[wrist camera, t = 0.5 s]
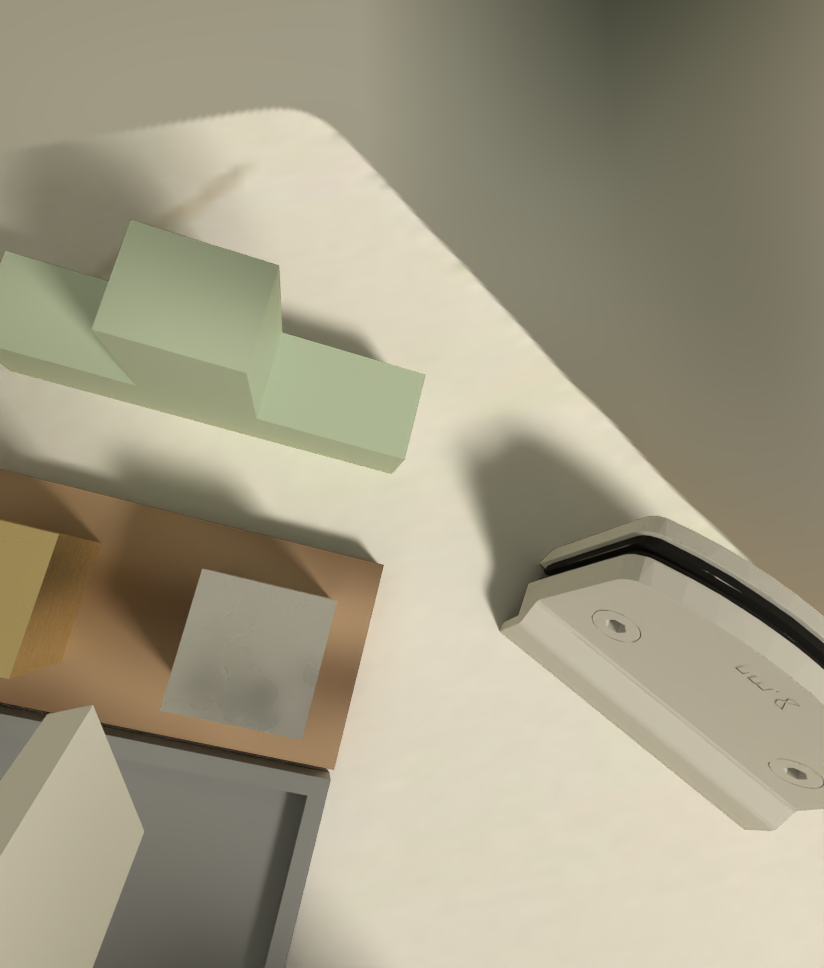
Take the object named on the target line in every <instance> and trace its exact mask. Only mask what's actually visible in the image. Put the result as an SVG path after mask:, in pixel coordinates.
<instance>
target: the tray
mask: <svg viewBox="0 0 824 968" xmlns="http://www.w3.org/2000/svg"><path fill="white" fill-rule="evenodd" d="M45 717H46V715H45V714H40V713H35V712H30V711H25V710H20V709H15V708H10V707H5V706H0V781H1V779H2V778H3V776H4V775H5V773H6V772H7V771H8V769H9V768H10V766H11V765H12V763H13V762H14V761H15V759H16V758H17V756H18V755H19V754H20V752H21V751H22V749H23V748H24V746H25V745H26V744H27V742H28V741H29V739H30V738H31V737H32V735H33V734H34V732H35V731H36V729H37V728H38V727H39V725H40V724H41V722H42V721H43V720H44V718H45ZM102 728H103V731H104V733H105V736H106V738H107V740H108V743H109V745H110V748H111V750H112V753H113V755H114V758H115V760H116V763H117V765H118V768H119V770H120V772H121V775H122V777H123V780H124V782H125V785H126V787H127V790H128V792H129V795H130V797H131V800H132V802H133V804H134V807H135V809H136V812H137V814H138V817H139V819H140V822H141V824H142V827H143V829H144V834H143V836H142V839H141V841H140V844H139V847H138V849H137V852H136V855H135V857H134V860H133V863H132V865H131V868H130V870H129V873H128V876H127V878H126V881H125V884H124V886H123V889H122V892H121V894H120V897H119V899H118V902H117V905H116V907H115V910H114V913H113V915H112V918H111V920H110V923H109V926H108V928H107V931H106V934H105V936H104V939H103V942H102V944H101V947H100V949H99V952H98V955H97V957H96V960H95V963H94V965H93V968H285V965H286V960H287V956H288V952H289V948H290V944H291V940H292V936H293V932H294V928H295V923H296V919H297V915H298V911H299V907H300V903H301V899H302V895H303V891H304V887H305V882H306V878H307V874H308V870H309V866H310V862H311V858H312V854H313V850H314V846H315V841H316V837H317V833H318V829H319V825H320V821H321V817H322V813H323V809H324V805H325V800H326V796H327V792H328V788H329V784H330V774H329V772H327V771H322V770H317V769H312V768H307V767H302V766H297V765H292V764H287V763H282V762H277V761H273V760H268V759H263V758H258V757H253V756H248V755H243V754H238V753H233V752H228V751H223V750H218V749H213V748H208V747H203V746H198V745H193V744H188V743H183V742H178V741H173V740H169V739H164V738H159V737H154V736H149V735H144V734H139V733H134V732H129V731H124V730H119V729H114V728H109V727H104V726H102Z"/></svg>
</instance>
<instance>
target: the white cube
mask: <svg viewBox="0 0 824 968" xmlns="http://www.w3.org/2000/svg"><path fill="white" fill-rule="evenodd" d="M336 604H337V601H336V600H334V599H331V598H328V597H324V596H320V595H315V594H311V593H307V592H303V591H299V590H295V589H290V588H286V587H282V586H278V585H274V584H270V583H265V582H261V581H257V580H253V579H249V578H245V577H240V576H236V575H232V574H228V573H224V572H219V571H214V570H208V569H202V571H201V574H200V578H199V581H198V584H197V588H196V591H195V594H194V598H193V601H192V604H191V608H190V611H189V615H188V618H187V621H186V625H185V628H184V631H183V635H182V638H181V641H180V645H179V648H178V651H177V655H176V658H175V661H174V665H173V668H172V672H171V675H170V678H169V682H168V685H167V688H166V692H165V695H164V698H163V702H162V705H161V708H160V711H165V712H170V713H175V714H179V715H184V716H189V717H194V718H199V719H203V720H208V721H213V722H218V723H223V724H228V725H232V726H237V727H242V728H247V729H252V730H256V731H261V732H266V733H271V734H276V735H281V736H285V737H290V738H295V739H300V740H302V737H303V733H304V729H305V726H306V722H307V718H308V714H309V710H310V706H311V702H312V698H313V694H314V690H315V686H316V682H317V678H318V675H319V671H320V667H321V663H322V659H323V655H324V651H325V647H326V643H327V639H328V635H329V631H330V627H331V624H332V620H333V616H334V612H335V608H336Z"/></svg>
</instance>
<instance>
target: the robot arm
mask: <svg viewBox="0 0 824 968" xmlns="http://www.w3.org/2000/svg"><path fill="white" fill-rule="evenodd" d="M143 834H144V829H143V827H142V824H141V822H140V819H139V817H138V814H137V812H136V809H135V807H134V804H133V802H132V800H131V797H130V795H129V792H128V790H127V787H126V785H125V782H124V780H123V777H122V775H121V772H120V770H119V768H118V765H117V763H116V760H115V758H114V755H113V753H112V750H111V748H110V745H109V743H108V740H107V738H106V736H105V733H104V731H103V728H102V726H101V723H100V721H99V718H98V716H97V713H96V711H95V708H94V706H93V705H90V706H85V707H80V708H75V709H70V710H65V711H61V712H56V713H51V714H47V715H46V717H45V718H44V720H43V721H42V722H41V724H40V725H39V727H38V728H37V729H36V731H35V732H34V734H33V735H32V737H31V738H30V739H29V741H28V742H27V744H26V745H25V746H24V748H23V749H22V751H21V752H20V754H19V755H18V756H17V758H16V759H15V761H14V762H13V763H12V765H11V766H10V768H9V769H8V771H7V772H6V773H5V775H4V776H3V778H2V779H1V781H0V968H93V965H94V963H95V960H96V957H97V955H98V952H99V949H100V947H101V944H102V942H103V939H104V936H105V934H106V931H107V928H108V926H109V923H110V920H111V918H112V915H113V913H114V910H115V907H116V905H117V902H118V899H119V897H120V894H121V892H122V889H123V886H124V884H125V881H126V878H127V876H128V873H129V870H130V868H131V865H132V863H133V860H134V857H135V855H136V852H137V849H138V847H139V844H140V841H141V839H142V836H143Z"/></svg>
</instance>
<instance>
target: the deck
mask: <svg viewBox="0 0 824 968" xmlns="http://www.w3.org/2000/svg"><path fill="white" fill-rule="evenodd" d="M0 519H3V520H7V521H11V522H15V523H19V524H23V525H28V526H32V527H36V528H40V529H44V530H48V531H53V532H57V533H61V534H65V535H69V536H73V537H78V538H82V539H86V540H90V541H94V542H99V543H101V544H100V547H99V550H98V553H97V556H96V559H95V562H94V565H93V568H92V572H91V575H90V578H89V581H88V584H87V587H86V590H85V593H84V596H83V599H82V602H81V605H80V608H79V611H78V614H77V617H76V620H75V623H74V626H73V629H72V632H71V635H70V638H69V641H68V644H67V647H66V650H65V653H64V656H63V659H62V662H59V663H56V664H53V665H50V666H47V667H44V668H41V669H38V670H35V671H32V672H29V673H26V674H23V675H20V676H17V677H14V678H11V679H6V678H1V677H0V702H2V703H7V704H12V705H17V706H22V707H26V708H31V709H36V710H41V711H46V712H51V713H56V712H61V711H65V710H70V709H75V708H80V707H85V706H90V705H93V706H94V708H95V711H96V713H97V716H98V718H99V721H100V722H101V723H105V724H110V725H115V726H120V727H125V728H130V729H135V730H140V731H145V732H150V733H155V734H160V735H165V736H170V737H175V738H179V739H184V740H189V741H194V742H199V743H204V744H209V745H214V746H219V747H224V748H229V749H234V750H239V751H244V752H249V753H254V754H258V755H263V756H268V757H273V758H278V759H283V760H288V761H293V762H298V763H303V764H308V765H313V766H318V767H323V768H328V769H332V770H334V767H335V763H336V759H337V755H338V751H339V747H340V743H341V738H342V734H343V730H344V726H345V722H346V718H347V714H348V710H349V706H350V702H351V697H352V693H353V689H354V685H355V681H356V677H357V673H358V669H359V665H360V660H361V656H362V652H363V648H364V644H365V640H366V636H367V632H368V628H369V624H370V619H371V615H372V611H373V607H374V603H375V599H376V595H377V591H378V587H379V583H380V578H381V574H382V570H383V566H384V565H382V564H378V563H374V562H370V561H366V560H362V559H358V558H354V557H350V556H346V555H342V554H338V553H334V552H330V551H326V550H322V549H318V548H314V547H310V546H306V545H302V544H298V543H294V542H290V541H286V540H282V539H278V538H274V537H270V536H266V535H262V534H258V533H254V532H250V531H246V530H242V529H238V528H234V527H230V526H226V525H222V524H218V523H214V522H210V521H206V520H202V519H198V518H194V517H190V516H186V515H182V514H178V513H174V512H170V511H166V510H162V509H158V508H154V507H150V506H146V505H142V504H138V503H134V502H130V501H126V500H122V499H118V498H114V497H110V496H106V495H102V494H98V493H94V492H90V491H86V490H82V489H78V488H74V487H70V486H66V485H62V484H58V483H54V482H50V481H46V480H42V479H38V478H34V477H30V476H26V475H22V474H18V473H14V472H10V471H6V470H2V469H0ZM202 569H208V570H214V571H219V572H224V573H228V574H232V575H236V576H240V577H245V578H249V579H253V580H257V581H261V582H265V583H270V584H274V585H278V586H282V587H286V588H290V589H295V590H299V591H303V592H307V593H311V594H315V595H320V596H324V597H328V598H331V599H334V600H336V601H337V604H336V608H335V612H334V616H333V620H332V624H331V627H330V631H329V635H328V639H327V643H326V647H325V651H324V655H323V659H322V663H321V667H320V671H319V675H318V678H317V682H316V686H315V690H314V694H313V698H312V702H311V706H310V710H309V714H308V718H307V722H306V726H305V729H304V733H303V737H302V740H300V739H295V738H290V737H285V736H281V735H276V734H271V733H266V732H261V731H256V730H252V729H247V728H242V727H237V726H232V725H228V724H223V723H218V722H213V721H208V720H203V719H199V718H194V717H189V716H184V715H179V714H175V713H170V712H165V711H160V708H161V705H162V702H163V698H164V695H165V692H166V688H167V685H168V682H169V678H170V675H171V672H172V668H173V665H174V661H175V658H176V655H177V651H178V648H179V645H180V641H181V638H182V635H183V631H184V628H185V625H186V621H187V618H188V615H189V611H190V608H191V604H192V601H193V598H194V594H195V591H196V588H197V584H198V581H199V578H200V574H201V571H202Z"/></svg>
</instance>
